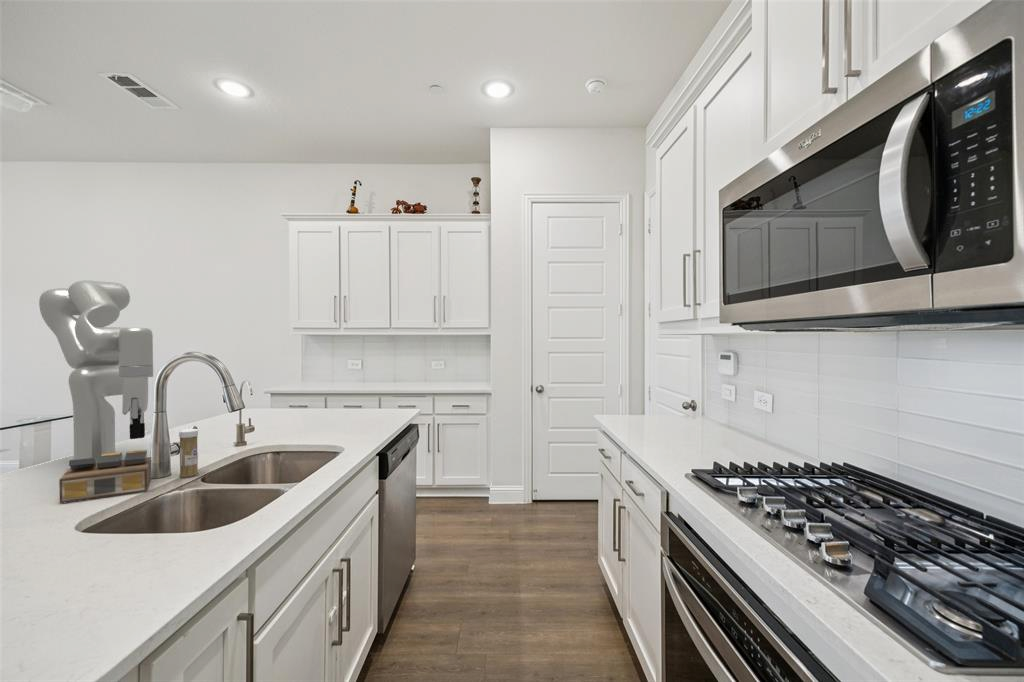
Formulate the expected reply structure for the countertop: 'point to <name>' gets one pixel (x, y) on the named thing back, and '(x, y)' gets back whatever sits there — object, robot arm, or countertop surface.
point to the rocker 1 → (82, 463)
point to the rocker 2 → (109, 460)
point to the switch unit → (104, 481)
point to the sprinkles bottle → (188, 452)
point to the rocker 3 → (135, 457)
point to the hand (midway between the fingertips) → (137, 437)
